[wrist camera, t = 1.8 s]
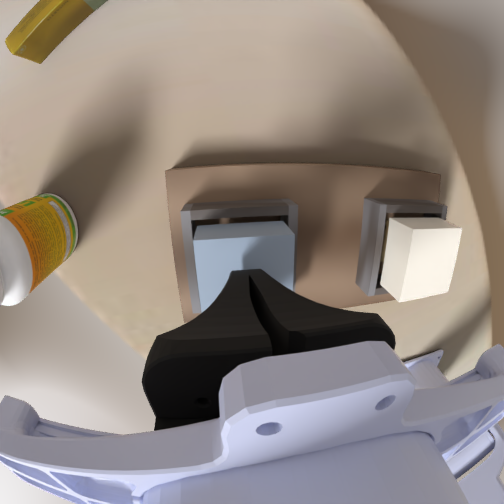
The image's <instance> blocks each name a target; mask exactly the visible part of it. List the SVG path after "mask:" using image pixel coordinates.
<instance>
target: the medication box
mask: <svg viewBox="0 0 504 504" xmlns="http://www.w3.org/2000/svg"><path fill="white" fill-rule="evenodd" d="M106 1H108V0H40V1H39V2H38V3H37V4H36V5H35V6H34V7H33V8H32V9H31V10H30V11H29V12H28V13H27V14H26V16H25V17H24V18H23V19H22V20H21V21H20V22H19V24H18V25H17V26H16V27H15V28H14V29H13V31H12V32H11V33H10V34H9V36H8V37H7V38H6V41H5V43H6V45H7V47H8V49H9V51H10V52H11V53H12V54H13V55H16V56H19V57H22V58H25V59H28V60H31V61H33V62H36V63H39V64H41V63H42V62H43V61H44V60H45V59H46V57H47V56H48V55H49V54H50V53H51V52H52V51H53V50H54V49H55V48H56V47H57V46H58V45H59V44H60V42H61V41H62V40H63V39H64V38H65V37H66V36H67V35H68V34H70V33H71V32H72V31H73V30H74V29H75V28H76V27H77V26H78V25H79V24H80V23H81V22H82V21H83V20H85V19H86V18H87V17H88V16H89V15H90V14H92V13H93V12H94V11H95V10H96V9H98V8H99V7H100V6H101V5H103V4H104V3H105V2H106Z"/></svg>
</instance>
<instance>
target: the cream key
mask: <svg viewBox="0 0 504 504" xmlns="http://www.w3.org/2000/svg"><path fill="white" fill-rule="evenodd" d="M461 232H462V228H461V227H459V226H457V225H454V224H452V223H450V222H448V221H445V220H443V219H441V218H389V227H388V236H387V244H386V251H385V258H384V264H383V270H382V276H381V281H380V285H381V286H382V287H384V288H385V289H386V290H387V291H388V292H389V293H390V294H391V295H392V296H393V297H394V298H395V299H396V300H397V301H398V302H404V301H409V300H414V299H419V298H424V297H428V296H433V295H437V294H442V293H446V292H448V289H449V286H450V282H451V278H452V275H453V270H454V266H455V262H456V258H457V253H458V248H459V243H460V238H461Z"/></svg>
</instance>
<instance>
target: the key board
mask: <svg viewBox="0 0 504 504" xmlns="http://www.w3.org/2000/svg"><path fill="white" fill-rule="evenodd" d="M165 174H166V187H167V199H168V210H169V220H170V229H171V238H172V246H173V254H174V261H175V268H176V275H177V282H178V288H179V295H180V301H181V307H182V312H183V318H184V323H185V322H189V321H191V320H193V319H194V318H196V317H197V316H198V315H200V314H201V313H202V312H201V305H200V297H199V289H198V281H197V273H196V264H195V255H194V245H193V239H194V235H195V232H196V228H197V226H200V225H215V224H231V223H249V222H269V221H284V223H285V224H286V225H287V226H288V227H289V228H290V230H291V231H292V232H293V233H294V234H295V246H294V275H293V291H294V292H295V293H297V294H299V295H301V296H303V297H305V298H308V299H310V300H312V301H315V302H318V303H321V304H324V305H327V306H330V307H334V308H338V309H340V308H347V307H354V306H360V305H367V304H373V303H379V302H385V301H391V300H396V299H395V298H394V297H393V296H392V295H391V294H390V293H389V292H388V291H387V290H386V289H385V288H384V287H382V286H381V285H380V281H381V276H382V270H383V264H384V258H385V251H386V244H387V236H388V227H389V218H441V219H443V220H445V221H446V214H447V206H445V205H442V204H439V203H438V201H439V191H440V178H441V175H440V174H435V173H431V172H426V171H418V170H410V169H400V168H390V167H378V166H365V165H348V164H324V163H251V164H226V165H209V166H195V167H183V168H172V169H169V170H166V171H165Z"/></svg>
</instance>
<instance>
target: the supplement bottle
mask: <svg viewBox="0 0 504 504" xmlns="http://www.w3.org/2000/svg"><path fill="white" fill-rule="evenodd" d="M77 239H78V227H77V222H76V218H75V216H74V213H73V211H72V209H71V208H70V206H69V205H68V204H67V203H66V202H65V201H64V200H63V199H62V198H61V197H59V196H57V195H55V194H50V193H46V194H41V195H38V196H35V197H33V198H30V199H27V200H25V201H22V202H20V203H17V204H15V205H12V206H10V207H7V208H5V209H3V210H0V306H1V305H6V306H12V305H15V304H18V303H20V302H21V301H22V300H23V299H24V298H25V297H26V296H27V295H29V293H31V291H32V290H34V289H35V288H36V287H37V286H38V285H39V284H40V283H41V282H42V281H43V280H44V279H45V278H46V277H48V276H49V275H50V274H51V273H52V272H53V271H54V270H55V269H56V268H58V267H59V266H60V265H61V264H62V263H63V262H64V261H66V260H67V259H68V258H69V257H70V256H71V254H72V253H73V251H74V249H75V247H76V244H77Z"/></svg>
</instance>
